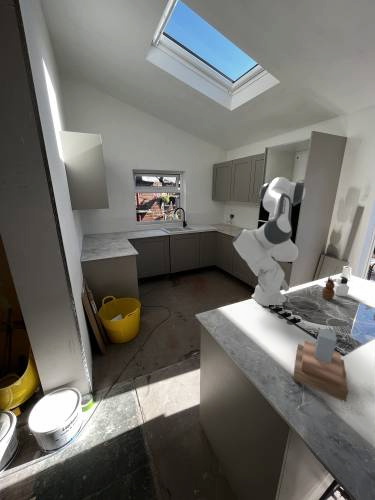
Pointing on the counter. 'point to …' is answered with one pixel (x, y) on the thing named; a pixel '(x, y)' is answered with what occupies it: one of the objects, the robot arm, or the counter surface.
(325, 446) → the counter surface
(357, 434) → the counter surface
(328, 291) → the wooden figurine
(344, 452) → the counter surface
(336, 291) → the medicine bottle
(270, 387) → the counter surface
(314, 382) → the plinth
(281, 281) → the robot arm
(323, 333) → the slate brick
